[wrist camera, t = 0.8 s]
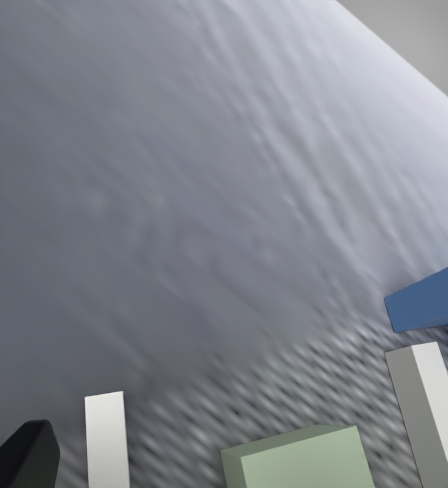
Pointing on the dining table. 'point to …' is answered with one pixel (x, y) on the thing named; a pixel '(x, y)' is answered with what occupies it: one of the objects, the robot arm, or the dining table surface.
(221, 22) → the dining table surface
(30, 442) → the robot arm
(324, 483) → the plug block
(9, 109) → the dining table surface
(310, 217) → the dining table surface
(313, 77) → the dining table surface
